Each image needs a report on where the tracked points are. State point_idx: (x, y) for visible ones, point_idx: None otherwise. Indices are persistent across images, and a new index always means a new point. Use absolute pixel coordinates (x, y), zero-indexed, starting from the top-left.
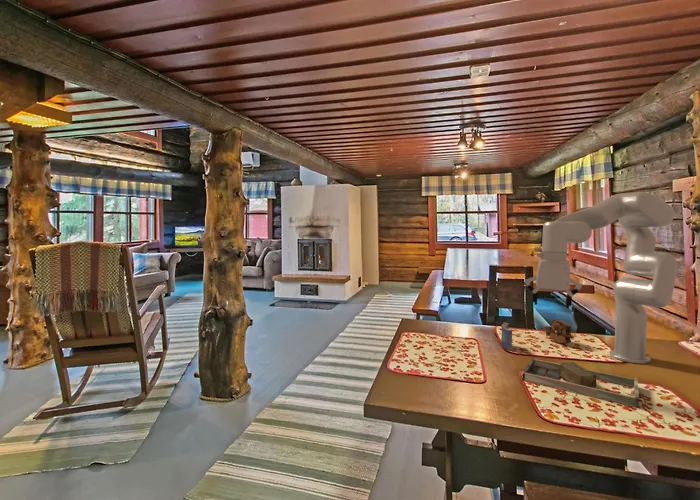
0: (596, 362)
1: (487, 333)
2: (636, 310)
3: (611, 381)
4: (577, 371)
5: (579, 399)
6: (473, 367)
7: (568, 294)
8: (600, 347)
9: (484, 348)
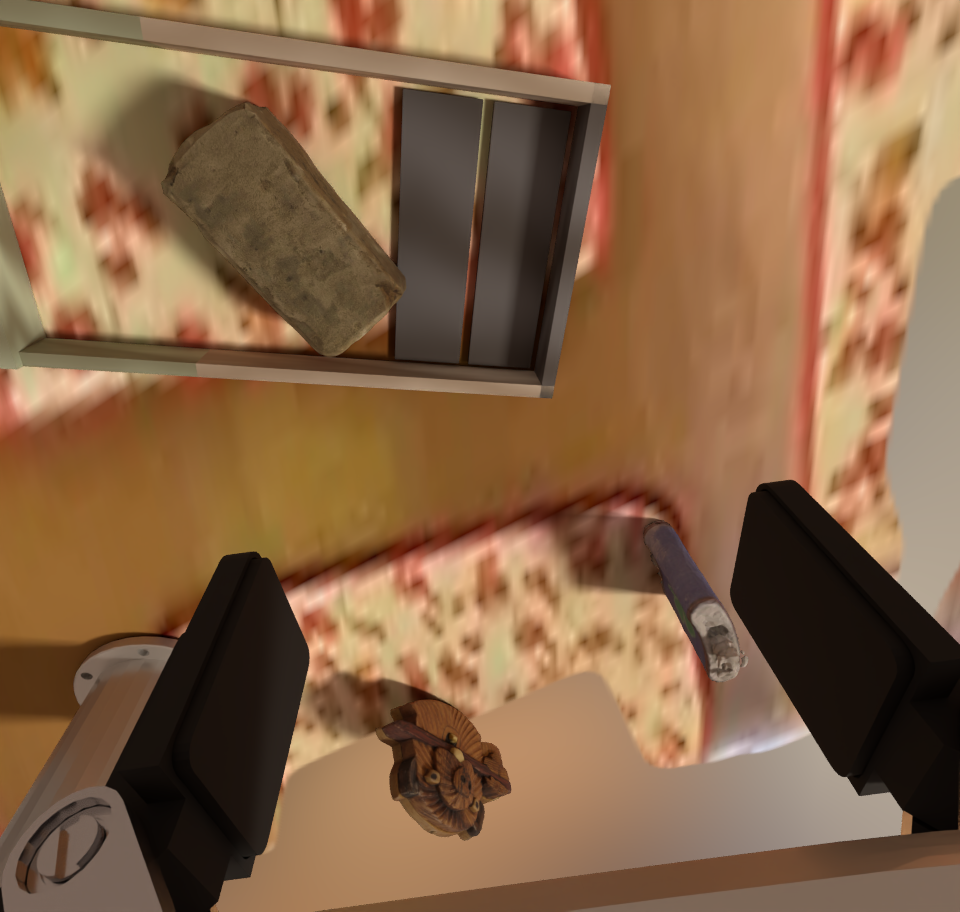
0: None
1: (743, 676)
2: None
3: (151, 346)
4: (274, 184)
5: None
6: (879, 148)
7: (130, 842)
8: None
9: None
